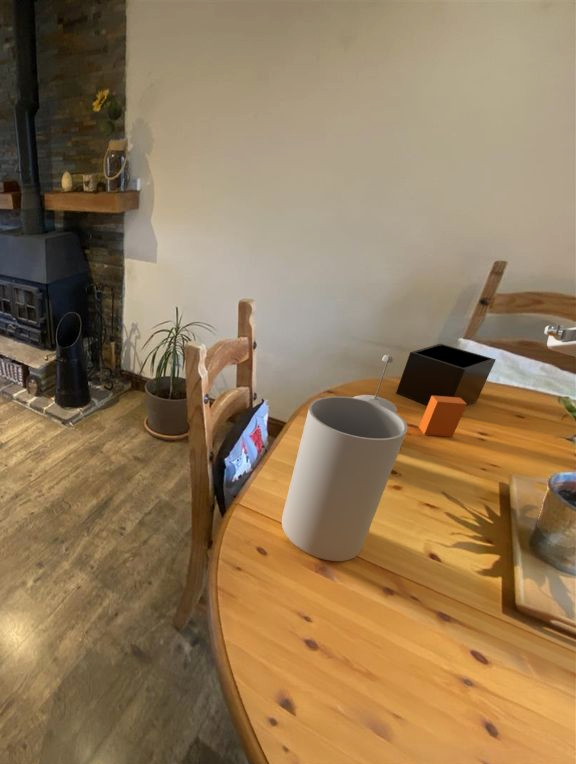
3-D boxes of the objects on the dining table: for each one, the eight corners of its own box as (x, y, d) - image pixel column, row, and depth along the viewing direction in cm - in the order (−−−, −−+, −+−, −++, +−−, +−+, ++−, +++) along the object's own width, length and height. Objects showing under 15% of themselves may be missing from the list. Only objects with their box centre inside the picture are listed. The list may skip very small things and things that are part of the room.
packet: (446, 430, 100) (460, 397, 96) (452, 437, 97) (467, 404, 93) (418, 427, 101) (431, 395, 97) (424, 434, 99) (437, 401, 95)
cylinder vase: (361, 524, 76) (404, 406, 65) (360, 575, 67) (411, 449, 55) (285, 501, 82) (312, 390, 71) (275, 545, 73) (305, 426, 62)
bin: (476, 402, 110) (496, 359, 104) (446, 414, 106) (465, 369, 100) (424, 383, 120) (440, 343, 114) (395, 393, 116) (410, 352, 110)
